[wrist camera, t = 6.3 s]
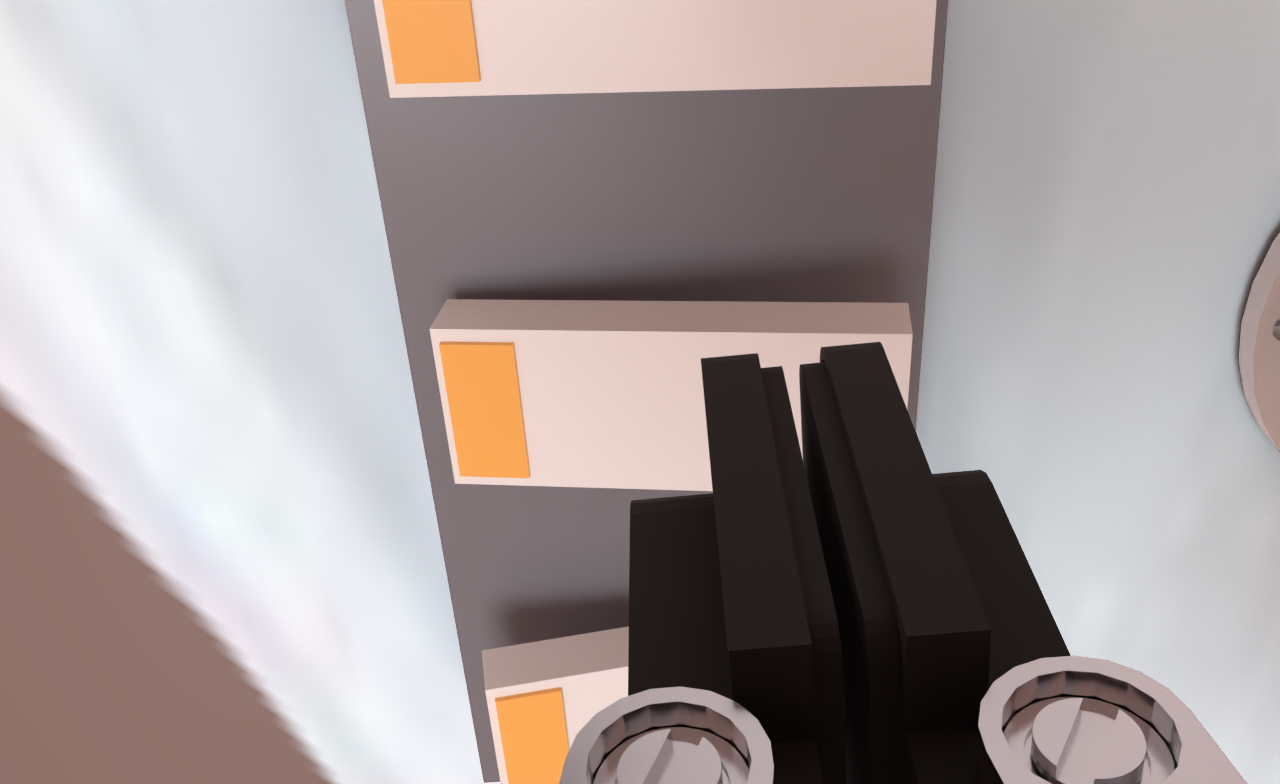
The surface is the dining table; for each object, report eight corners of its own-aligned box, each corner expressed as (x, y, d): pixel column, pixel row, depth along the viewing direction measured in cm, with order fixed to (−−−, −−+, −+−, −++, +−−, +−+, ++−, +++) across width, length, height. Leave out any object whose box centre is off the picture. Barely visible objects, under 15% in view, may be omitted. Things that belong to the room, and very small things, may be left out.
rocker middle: (908, 302, 25) (913, 337, 24) (897, 460, 27) (901, 500, 26) (447, 299, 26) (427, 332, 25) (469, 449, 28) (453, 487, 27)
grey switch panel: (935, -622, 22) (999, -679, 19) (863, 659, 38) (891, 755, 35) (288, -581, 22) (232, -631, 18) (493, 684, 38) (483, 782, 35)
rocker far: (866, 587, 31) (887, 626, 29) (860, 699, 33) (879, 740, 32) (481, 650, 30) (485, 694, 28) (500, 762, 32) (504, 807, 30)
